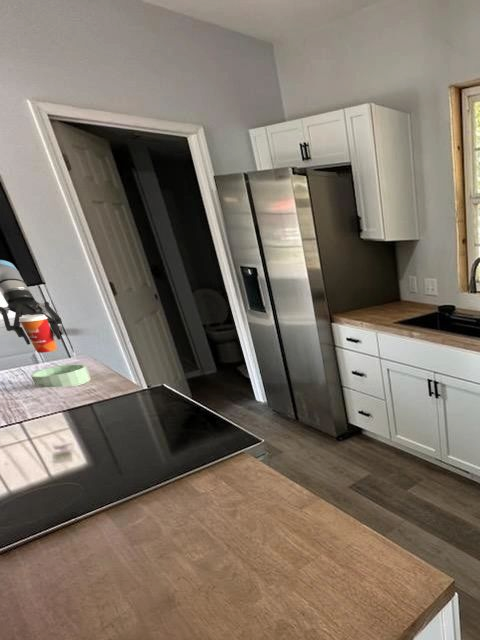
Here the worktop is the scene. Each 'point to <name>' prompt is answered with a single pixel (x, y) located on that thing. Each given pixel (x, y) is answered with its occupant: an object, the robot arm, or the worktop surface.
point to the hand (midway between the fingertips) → (44, 339)
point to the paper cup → (39, 332)
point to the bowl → (61, 376)
